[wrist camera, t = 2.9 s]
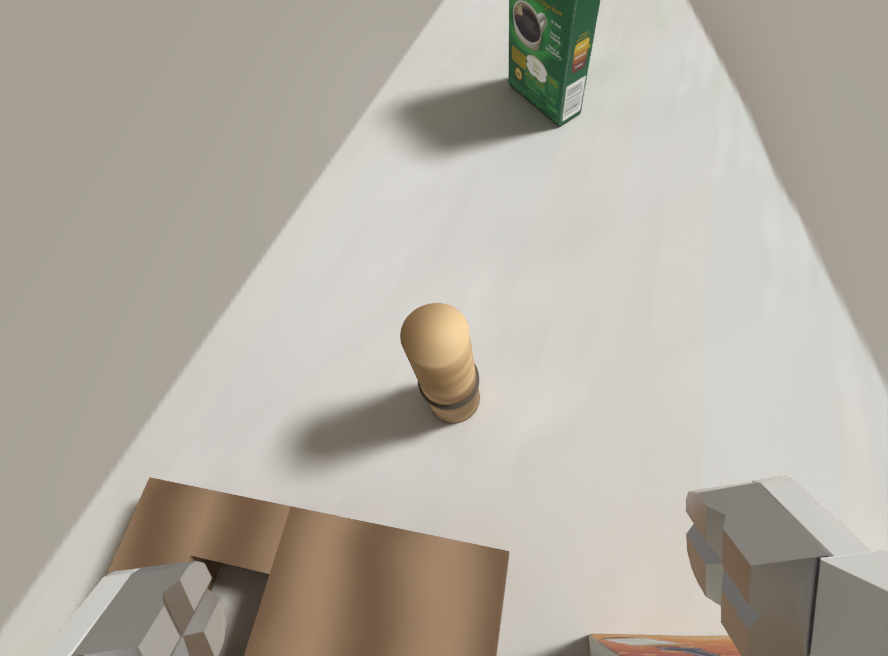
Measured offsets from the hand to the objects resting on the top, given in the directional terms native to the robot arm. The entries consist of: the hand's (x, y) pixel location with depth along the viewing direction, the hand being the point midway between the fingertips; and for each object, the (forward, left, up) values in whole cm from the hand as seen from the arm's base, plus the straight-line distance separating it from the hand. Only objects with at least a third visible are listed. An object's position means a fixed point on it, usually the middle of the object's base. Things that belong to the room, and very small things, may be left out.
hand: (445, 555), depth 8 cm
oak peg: (+4, -10, -23) cm, 26 cm away
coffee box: (+1, -40, -23) cm, 47 cm away
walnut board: (+10, +5, -23) cm, 26 cm away
